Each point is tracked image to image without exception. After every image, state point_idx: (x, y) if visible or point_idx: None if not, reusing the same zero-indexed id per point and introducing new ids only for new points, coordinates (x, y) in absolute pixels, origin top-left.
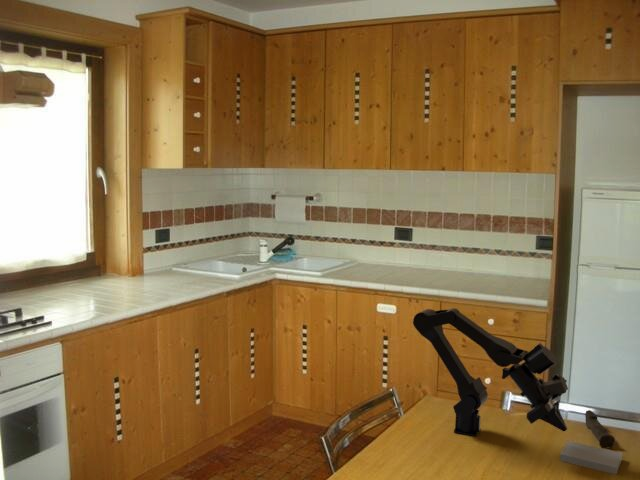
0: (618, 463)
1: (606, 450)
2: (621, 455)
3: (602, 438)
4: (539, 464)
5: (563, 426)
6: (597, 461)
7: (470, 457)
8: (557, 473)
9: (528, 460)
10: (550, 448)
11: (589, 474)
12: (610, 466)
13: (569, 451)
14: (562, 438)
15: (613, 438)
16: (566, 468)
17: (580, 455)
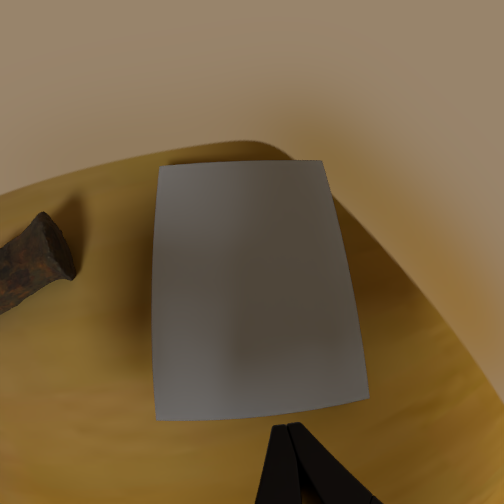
0: (274, 161)
1: (165, 221)
2: (185, 164)
3: (58, 256)
4: (437, 435)
5: (320, 450)
6: (325, 227)
7: None
8: (458, 349)
9: (428, 481)
10: (241, 481)
11: (388, 253)
12: (326, 180)
13: (307, 373)
14: (79, 451)
15: (45, 215)
16: (405, 342)
17: (317, 310)
